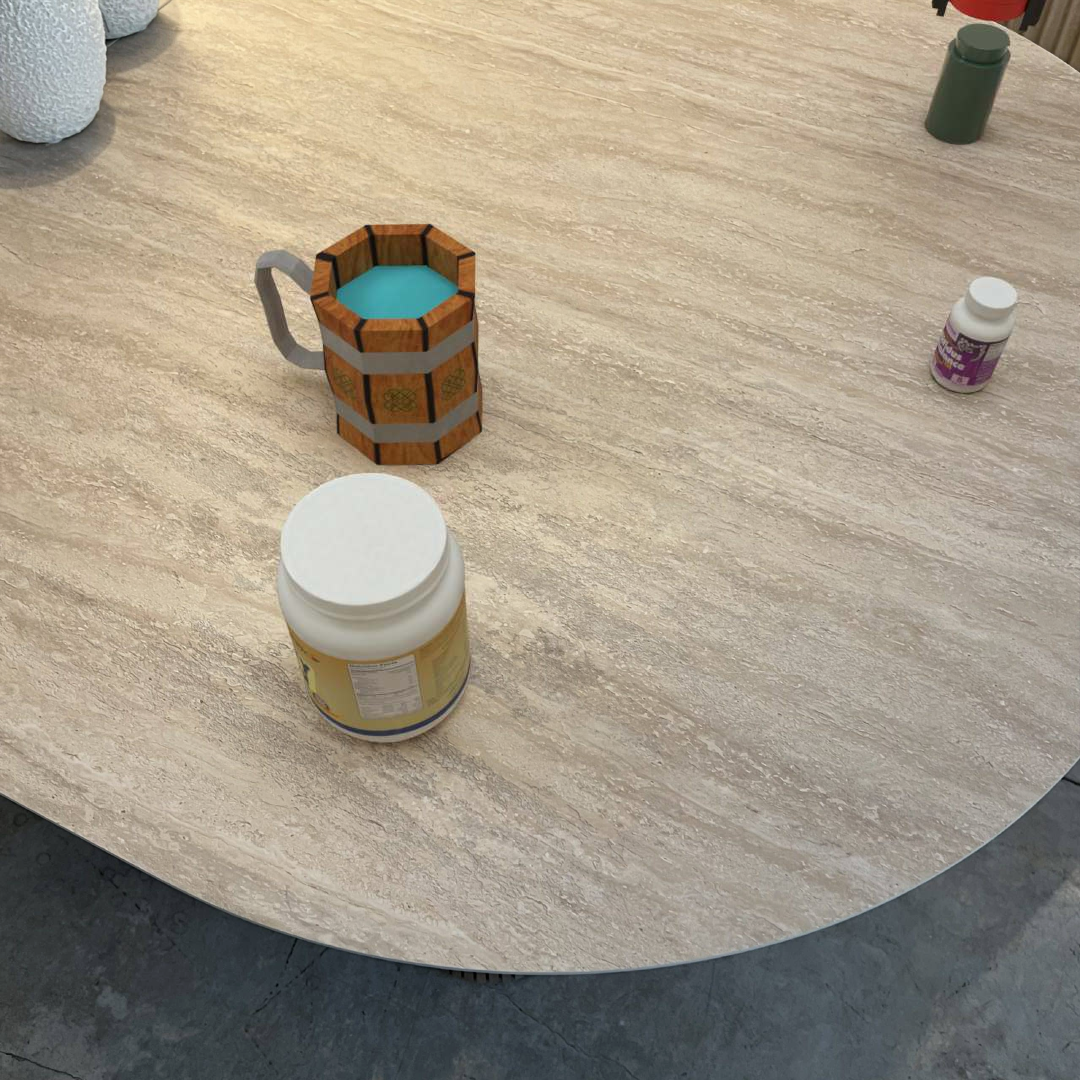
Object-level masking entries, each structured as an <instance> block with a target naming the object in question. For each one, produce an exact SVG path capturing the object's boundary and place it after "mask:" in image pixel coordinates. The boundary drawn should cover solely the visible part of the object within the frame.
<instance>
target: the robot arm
mask: <svg viewBox="0 0 1080 1080" xmlns="http://www.w3.org/2000/svg"><path fill="white" fill-rule="evenodd" d="M949 2H950V0H931V8H932V9H936V15H935V16H936V17H942V18H944V17H945V15H946V11H947V7H948V4H949ZM1046 3H1047V0H1029V1H1028V4H1027V7H1026V9H1025V12H1024V13H1023V14H1022V15H1021V16H1020V20H1019V25H1018V29H1017V31H1018V32H1023V33H1027V31H1028V29H1029V27H1035V26H1036V25H1037V24H1038V23H1039V21H1040V19H1041V16H1042V13H1043V11H1044V8H1045V6H1046Z"/></svg>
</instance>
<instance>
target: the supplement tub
mask: <svg viewBox="0 0 1080 1080" xmlns="http://www.w3.org/2000/svg"><path fill="white" fill-rule="evenodd" d="M279 548H280V555H281V557H280V560H279V562H278V567H277V573H276V593H277V600H278V605H279V608H280V610H281V613H282V615H283V618H284V621H285V624H286V628H287V630H288V633H289V637H290V640H291V643H292V646H293V649H294V652H295V655H296V659H297V662H298V665H299V669H300V672H301V676H302V679H303V682H304V683H303V684H304V687H305V691H306V694H307V697H308V698H309V700H310V702H311V704H312V706H313V707H314V708H315V710H316V712H318V713H319V715H320V716H321V717H322V718H324V720H326V722H327V723H329V724H330V725H331V726H333V727H334V728H335V729H336V730H338V731H340V732H341V733H344V734H346V735H348V736H350V737H353V738H355V739H359V740H363V741H368V742H373V743H374V742H375V743H396V742H401V741H405V740H408V739H412V738H415V737H417V736H419V735H422V734H424V733H426V732H427V731H429V730H431V729H433V728H434V727H436V726H437V725H438V724H439V723H441V722H442V721H443V720H444V719H445V718H447V716H448V715H450V713H451V712H452V711H453V710H454V709H455V707H456V706H457V705H458V703H459V702H460V701H461V699H462V697H463V695H464V693H465V691H466V689H467V685H468V683H469V680H470V676H471V671H472V650H471V646H470V645H471V644H470V636H469V635H470V634H469V622H468V610H467V598H466V597H467V596H466V584H465V583H466V567H465V561H464V557H463V553H462V551H461V547H460V545H459V543H458V541H457V539H456V537H455V535H454V533H453V531H452V530H451V529H450V528H449V527H448V525H447V523H446V519H445V516H444V513H443V512H442V509H441V507H440V506H439V504H438V503H437V502H436V500H435V499H434V498H433V497H432V495H431V494H429V493H428V491H426V490H425V489H423V488H422V487H420V486H419V485H418V484H416V483H414V482H412V481H410V480H408V479H405V478H403V477H400V476H397V475H394V474H388V473H381V472H361V473H360V472H359V473H353V474H348V475H343V476H339V477H337V478H333V479H331V480H329V481H327V482H324V483H322V484H321V485H319V486H316V488H314V489H312V490H311V491H310V492H308V493H307V494H306V495H304V496H303V498H301V499H300V500H299V501H298V502H297V503H296V504H295V506H294V507H293V508H292V510H291V511H290V512H289V514H288V516H287V518H286V520H285V521H284V524H283V527H282V530H281V534H280V541H279Z"/></svg>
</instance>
